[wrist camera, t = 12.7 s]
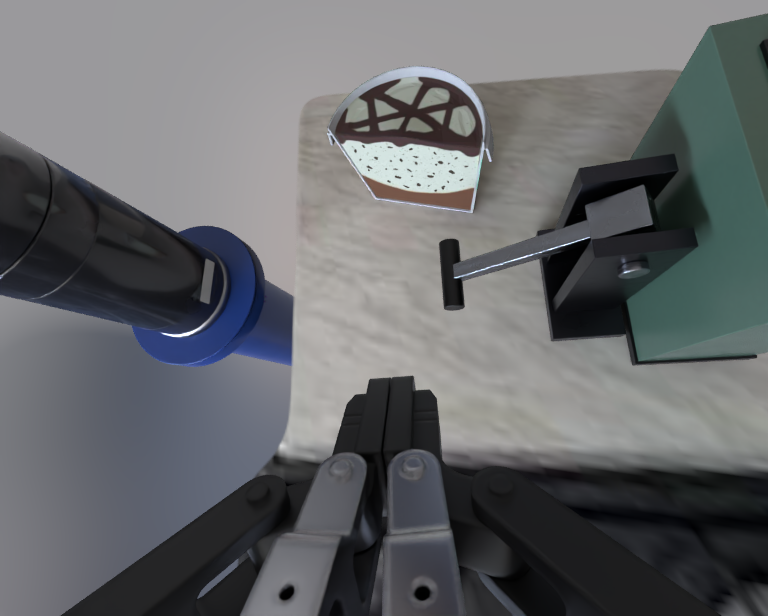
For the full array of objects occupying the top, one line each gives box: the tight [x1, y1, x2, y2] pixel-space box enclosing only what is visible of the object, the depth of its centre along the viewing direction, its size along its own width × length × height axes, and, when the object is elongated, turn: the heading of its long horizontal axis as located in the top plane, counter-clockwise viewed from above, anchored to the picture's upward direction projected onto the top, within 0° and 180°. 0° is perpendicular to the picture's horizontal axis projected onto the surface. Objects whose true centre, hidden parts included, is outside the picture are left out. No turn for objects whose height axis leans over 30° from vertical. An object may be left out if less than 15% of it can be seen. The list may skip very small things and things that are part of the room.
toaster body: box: [621, 14, 768, 365], centre depth 22 cm, size 7×13×16 cm, turn 2°
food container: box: [327, 66, 494, 213], centre depth 32 cm, size 12×6×10 cm, turn 74°
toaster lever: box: [439, 185, 661, 311], centre depth 24 cm, size 13×5×2 cm, turn 94°
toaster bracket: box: [536, 153, 698, 341], centre depth 25 cm, size 5×9×13 cm, turn 2°
